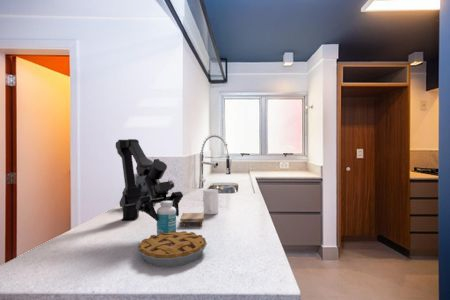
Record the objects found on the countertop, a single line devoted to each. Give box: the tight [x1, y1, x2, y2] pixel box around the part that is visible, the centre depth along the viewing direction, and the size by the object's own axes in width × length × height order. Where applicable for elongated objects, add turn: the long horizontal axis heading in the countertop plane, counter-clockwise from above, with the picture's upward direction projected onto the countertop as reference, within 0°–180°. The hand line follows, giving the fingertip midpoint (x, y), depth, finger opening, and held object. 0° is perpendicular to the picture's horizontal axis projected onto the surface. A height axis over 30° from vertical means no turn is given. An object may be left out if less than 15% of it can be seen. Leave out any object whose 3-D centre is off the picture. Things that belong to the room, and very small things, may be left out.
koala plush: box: [134, 172, 157, 207], centre depth 156 cm, size 17×18×20 cm
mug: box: [202, 188, 219, 215], centre depth 136 cm, size 8×12×12 cm
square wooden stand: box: [179, 212, 205, 227], centre depth 118 cm, size 10×10×4 cm
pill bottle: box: [156, 201, 177, 235], centre depth 102 cm, size 8×7×14 cm
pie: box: [137, 230, 208, 268], centre depth 85 cm, size 22×22×5 cm
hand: (168, 218), depth 101 cm, fingers open, 9 cm apart
